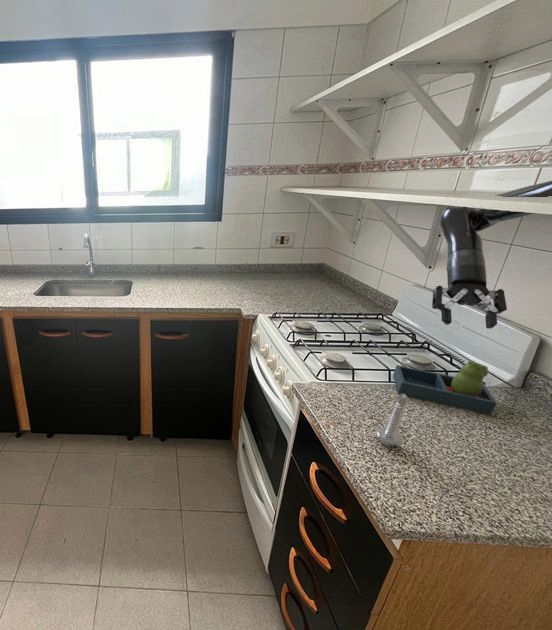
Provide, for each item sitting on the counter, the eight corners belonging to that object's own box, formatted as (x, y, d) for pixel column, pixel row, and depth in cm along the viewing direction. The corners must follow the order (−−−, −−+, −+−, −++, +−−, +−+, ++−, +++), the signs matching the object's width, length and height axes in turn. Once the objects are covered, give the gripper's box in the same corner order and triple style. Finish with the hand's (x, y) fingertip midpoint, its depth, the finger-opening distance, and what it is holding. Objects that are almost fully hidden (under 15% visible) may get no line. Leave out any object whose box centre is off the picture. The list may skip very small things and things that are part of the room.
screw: (378, 431, 78) (403, 444, 75) (369, 441, 76) (394, 454, 72) (395, 384, 73) (423, 395, 70) (386, 392, 71) (414, 404, 67)
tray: (477, 393, 91) (482, 382, 89) (490, 415, 83) (496, 403, 82) (392, 375, 99) (396, 364, 97) (397, 393, 91) (401, 382, 90)
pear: (442, 391, 90) (456, 359, 86) (456, 387, 92) (470, 355, 88) (468, 404, 85) (484, 370, 81) (481, 399, 87) (497, 366, 83)
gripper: (439, 262, 93) (440, 318, 89) (509, 264, 88) (515, 324, 83) (427, 274, 100) (428, 327, 95) (492, 277, 94) (496, 333, 90)
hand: (468, 325), depth 89 cm, fingers open, 8 cm apart
